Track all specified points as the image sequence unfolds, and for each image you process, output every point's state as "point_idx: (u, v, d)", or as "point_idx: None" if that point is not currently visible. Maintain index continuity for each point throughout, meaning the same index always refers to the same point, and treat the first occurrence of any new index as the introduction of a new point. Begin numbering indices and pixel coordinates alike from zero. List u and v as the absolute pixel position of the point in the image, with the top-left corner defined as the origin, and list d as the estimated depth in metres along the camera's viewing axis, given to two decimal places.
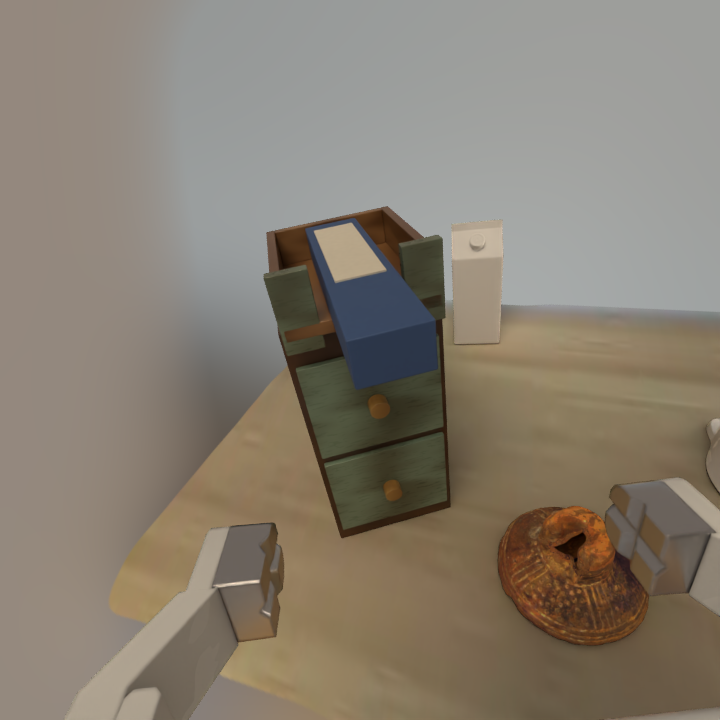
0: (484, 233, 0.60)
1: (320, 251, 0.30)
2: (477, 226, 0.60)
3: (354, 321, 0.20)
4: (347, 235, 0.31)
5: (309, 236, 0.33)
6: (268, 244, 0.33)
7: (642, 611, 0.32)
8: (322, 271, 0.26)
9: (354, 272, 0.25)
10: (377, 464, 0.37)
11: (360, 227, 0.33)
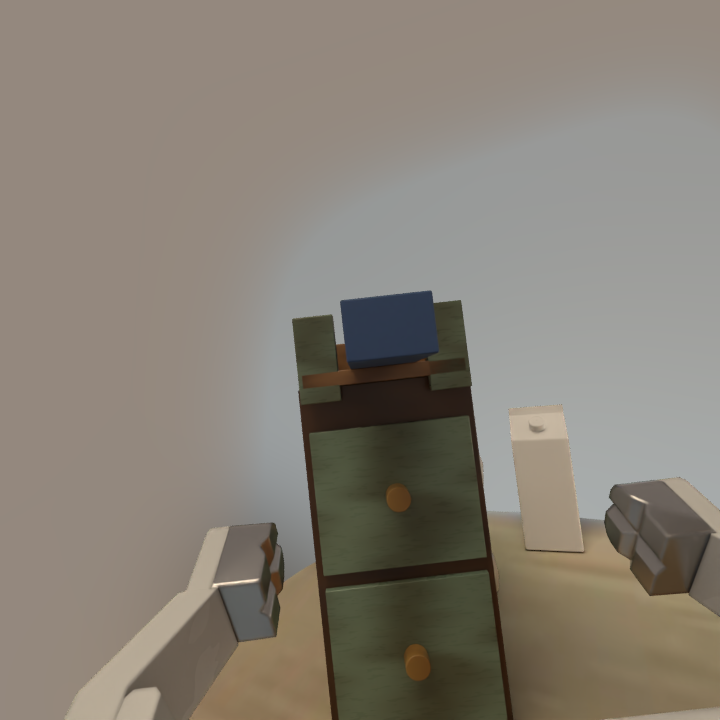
0: (544, 417, 0.58)
1: None
2: (536, 411, 0.59)
3: None
4: None
5: None
6: None
7: None
8: None
9: None
10: (396, 606, 0.27)
11: None
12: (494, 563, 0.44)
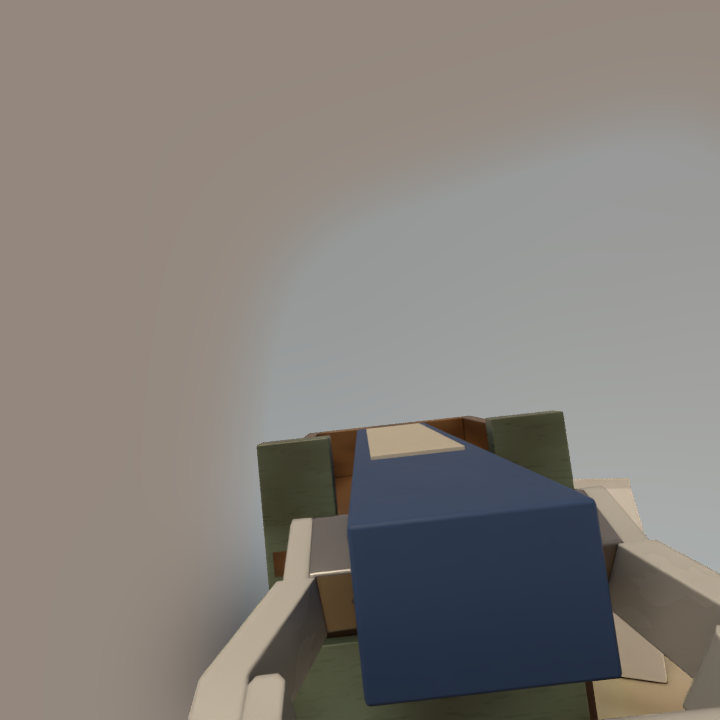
0: None
1: (365, 440, 0.20)
2: (594, 485, 0.46)
3: (384, 498, 0.09)
4: (409, 428, 0.22)
5: (358, 433, 0.24)
6: None
7: None
8: (356, 452, 0.16)
9: (407, 449, 0.14)
10: None
11: (430, 426, 0.23)
12: None
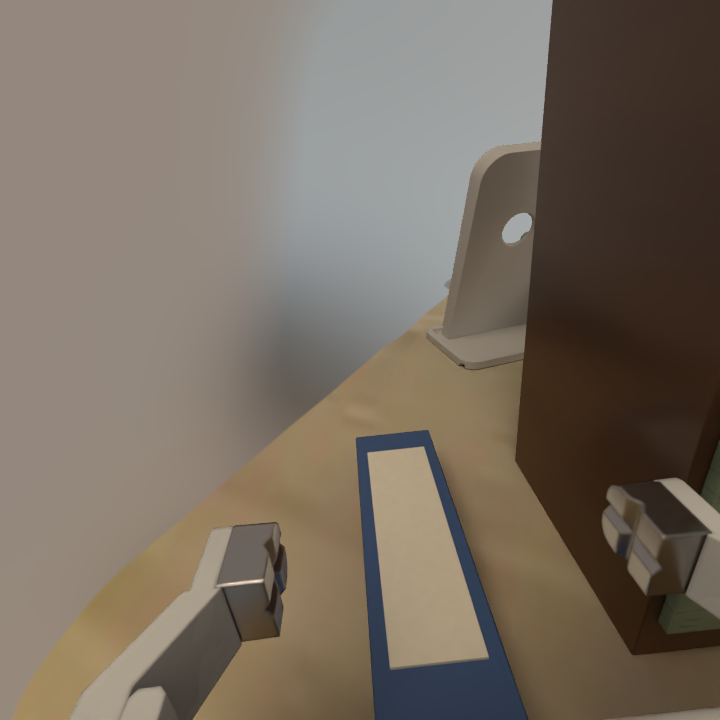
0: None
1: (372, 522, 0.19)
2: None
3: None
4: (417, 486, 0.20)
5: (359, 465, 0.22)
6: None
7: None
8: (369, 605, 0.15)
9: (427, 643, 0.14)
10: None
11: (436, 463, 0.22)
12: None
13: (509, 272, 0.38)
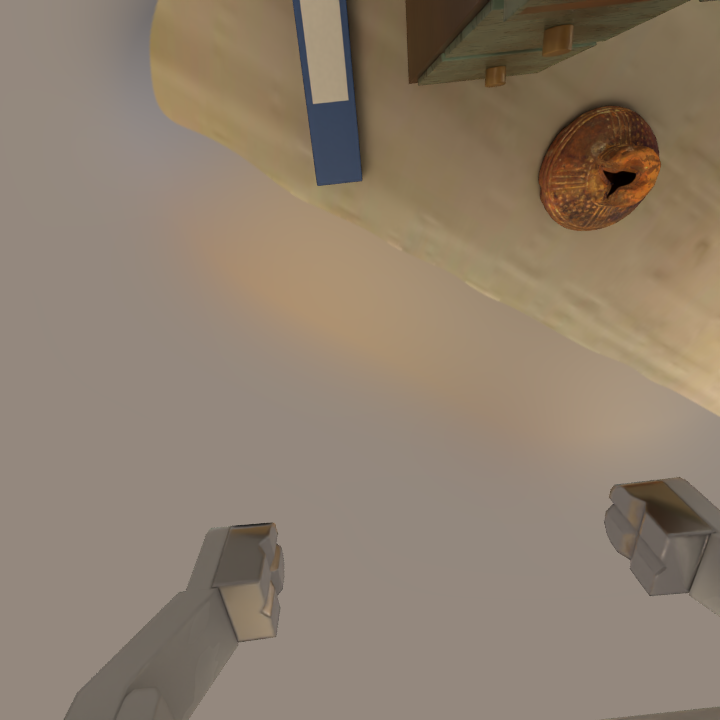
0: None
1: (301, 19, 0.34)
2: None
3: (322, 167, 0.39)
4: None
5: None
6: None
7: (621, 218, 0.44)
8: (303, 75, 0.36)
9: (326, 94, 0.37)
10: (499, 59, 0.30)
11: None
12: None
13: None
